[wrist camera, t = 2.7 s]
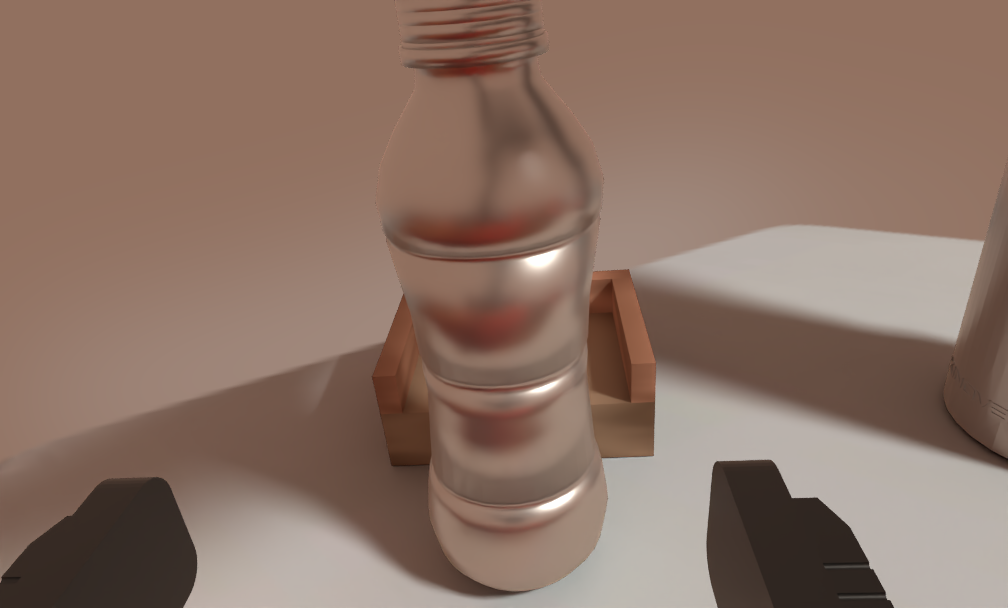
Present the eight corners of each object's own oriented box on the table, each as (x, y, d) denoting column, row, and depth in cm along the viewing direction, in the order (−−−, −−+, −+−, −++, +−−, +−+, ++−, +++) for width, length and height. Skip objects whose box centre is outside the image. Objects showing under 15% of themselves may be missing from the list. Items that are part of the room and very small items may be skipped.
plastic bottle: (426, 507, 28) (326, -9, 19) (576, 470, 29) (553, -33, 20) (454, 640, 23) (331, 2, 13) (637, 587, 24) (646, -32, 14)
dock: (628, 348, 38) (628, 269, 35) (653, 455, 30) (655, 362, 27) (421, 359, 39) (407, 282, 36) (391, 465, 31) (372, 376, 28)
